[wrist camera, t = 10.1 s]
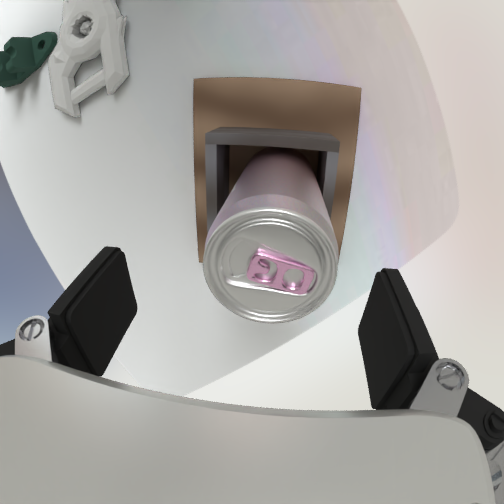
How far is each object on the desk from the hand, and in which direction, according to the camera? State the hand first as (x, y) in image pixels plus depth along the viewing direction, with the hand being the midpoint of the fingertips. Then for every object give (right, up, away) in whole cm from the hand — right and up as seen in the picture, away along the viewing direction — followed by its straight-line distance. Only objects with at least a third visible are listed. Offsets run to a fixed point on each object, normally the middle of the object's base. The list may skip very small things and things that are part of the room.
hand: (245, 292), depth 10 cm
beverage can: (+3, +8, +15) cm, 17 cm away
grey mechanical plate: (-16, +24, +10) cm, 31 cm away
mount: (-27, +25, +11) cm, 38 cm away
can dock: (+2, +8, +16) cm, 18 cm away
